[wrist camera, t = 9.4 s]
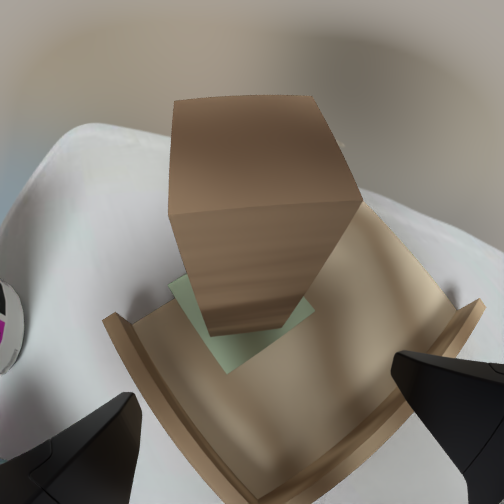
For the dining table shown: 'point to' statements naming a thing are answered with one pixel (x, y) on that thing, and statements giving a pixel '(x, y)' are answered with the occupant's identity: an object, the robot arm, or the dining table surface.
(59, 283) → the dining table surface
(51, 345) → the dining table surface
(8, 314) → the supplement can
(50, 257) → the dining table surface
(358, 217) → the tray
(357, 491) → the dining table surface
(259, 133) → the walnut block
